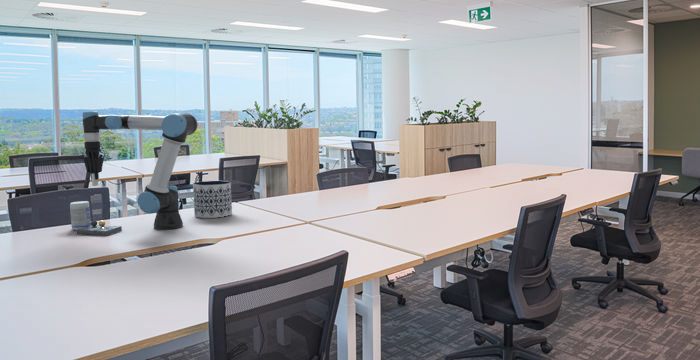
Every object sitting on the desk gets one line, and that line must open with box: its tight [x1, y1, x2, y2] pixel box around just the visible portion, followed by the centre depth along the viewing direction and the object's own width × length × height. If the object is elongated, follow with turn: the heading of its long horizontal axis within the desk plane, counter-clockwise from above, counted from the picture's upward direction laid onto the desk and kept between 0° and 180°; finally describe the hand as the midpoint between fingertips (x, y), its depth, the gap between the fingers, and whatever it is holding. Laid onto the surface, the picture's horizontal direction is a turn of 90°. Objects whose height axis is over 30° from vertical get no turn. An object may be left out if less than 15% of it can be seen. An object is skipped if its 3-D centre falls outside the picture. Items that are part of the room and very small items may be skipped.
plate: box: [75, 224, 123, 237], centre depth 280 cm, size 18×12×2 cm, turn 75°
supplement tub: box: [69, 200, 92, 231], centre depth 290 cm, size 10×10×15 cm
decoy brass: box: [98, 220, 106, 227], centre depth 283 cm, size 3×3×3 cm
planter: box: [192, 180, 233, 219], centre depth 325 cm, size 22×22×20 cm
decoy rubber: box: [91, 220, 98, 226], centre depth 285 cm, size 3×3×3 cm
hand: (95, 185), depth 282 cm, fingers closed
